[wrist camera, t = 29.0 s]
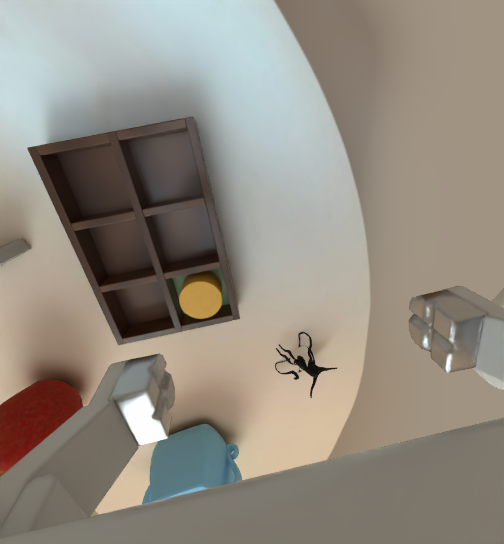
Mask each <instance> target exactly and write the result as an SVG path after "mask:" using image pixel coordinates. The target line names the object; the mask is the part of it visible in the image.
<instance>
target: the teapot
mask: <svg viewBox="0 0 504 544" xmlns="http://www.w3.org/2000/svg"><path fill="white" fill-rule="evenodd" d="M232 451H234V453H233V454H231V452H232ZM238 454H239V449H238V447H237V445H235V444H228V445H226V443H225V441H224V440H223V438H222V437H221V436H220V435H219V434H218V432H217V431H216V430H215V429H214V428H213V427H212V426H210V425H208V424H201V425H197V426H194V427H191V428H188V429H185V430H182V431H180V432H177V433H175V434H172V435H170V436H168V438H167V439H163V440H160V441H159V442H158V444H157V445H156V447H155V449H154V451H153V454H152V459H151V467H150V485H149V487H148V489H147V491H146V493H145V496H144V499H143V503H142V504H146V503H150V502H154V501H158V500H163V499H167V498H171V497H175V496H179V495H183V494H188V493H192V492H196V491H200V490H204V489H208V488H213V487H217V486H221V485H225V484H229V483H233V482H238V481H242V477H241V473H240V471H239V469H238V467H237V465H236V463H235V462H234V460H233V459H235V458H237V456H238Z"/></svg>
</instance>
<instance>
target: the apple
mask: <svg viewBox="0 0 504 544" xmlns="http://www.w3.org/2000/svg"><path fill="white" fill-rule="evenodd" d="M82 407H83V404H82V398H81V397H80V395H79V393H78V391H76V390H75V389H74V388H73V387H72V386H71V385H69V384H67V383H64V382H62V381H57V380H43V381H38V382H36V383H34V384H32V385H31V386H29V387H27V388H26V389H24V390H22V391H21V392H19V393H17V394H16V395H14V396H13V397H11V398H10V399H8V400H7V401H5V402H4V403H2V404H1V405H0V477H1V476H2V475H3V474H4V473H6V472H7V471H8V470H9V469H10V468H11V467H13V466H14V465H15V464H16V463H17V462H18V461H20V460H21V459H22V458H23V457H24V456H26V455H27V454H28V453H29V452H30V451H31V450H33V449H34V448H35V447H36V446H37V445H39V444H40V443H41V442H42V441H43V440H44V439H46V438H47V437H48V436H49V435H50V434H52V433H53V432H54V431H55V430H56V429H57V428H59V427H60V426H61V425H62V424H63V423H65V422H66V421H67V420H68V419H69V418H70V417H72V416H73V415H74V414H75V413H76V412H77V411H79V410H80V409H81V408H82Z"/></svg>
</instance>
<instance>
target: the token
mask: <svg viewBox="0 0 504 544" xmlns="http://www.w3.org/2000/svg"><path fill="white" fill-rule="evenodd" d="M179 303H180V306H181V308H182V310H183V311H184V312H185V313H186V314H187V315H189V316H191V317H193V318H198V319H204V318H208V317H211V316H213V315H214V314H216V313H217V312H218V311H219V309H220V307H221V305H222V285H221V282H220V280H219V278H218V277H217V276H216V275H215V274H213V273H211V272H209V271H202V272H198V273H193V274H189V275H188V276H187V277H186V278H185V280H184V282H183V285H182V289H181V293H180V297H179Z"/></svg>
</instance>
